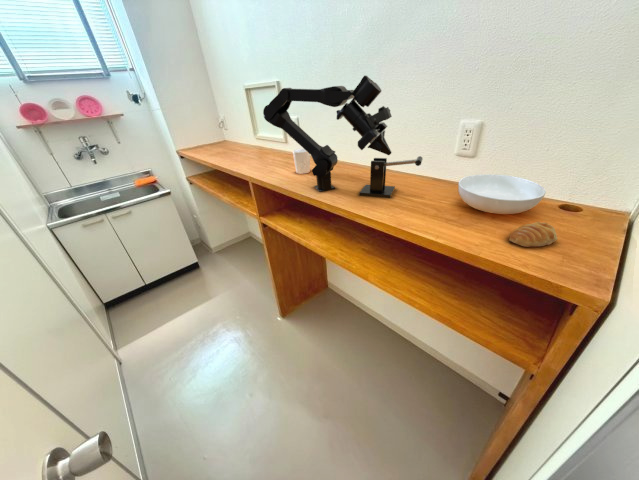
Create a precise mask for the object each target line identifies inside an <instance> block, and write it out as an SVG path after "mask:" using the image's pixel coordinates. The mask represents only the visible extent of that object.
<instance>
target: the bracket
mask: <svg viewBox="0 0 639 480" xmlns="http://www.w3.org/2000/svg"><path fill="white" fill-rule="evenodd" d="M382 160H383V161H382ZM387 160H388V158H387V157H374V158H373V160H370V174H369V175H370V176H369V177H370V178H369V184H367V183H366V184H364V186H363V187H362V188H361V190H359V193H358V195H359V197H369V198H370V197H371V198H383V199H391V198H392V196H393V194H394V193H395V192H394V191H395V190H396V186H394V185H386V179H387V166H384V163H386V162H388V161H387Z"/></svg>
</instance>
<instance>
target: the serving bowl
mask: <svg viewBox="0 0 639 480" xmlns="http://www.w3.org/2000/svg"><path fill="white" fill-rule="evenodd" d="M457 187H458V188H457V190H458V191H457V192H458V195H459V197H460V199H461V200H462V201H463V202H464V203H465V204H466V205H468V206H469V207H471V208H473V209H475V210H479V211H481V212H484V213H489V214H496V215H514V214H515V215H516V214H520V213H524V212H527V211H529V210H532V209H533V208H534V207H536V206H537V205H538V204H539V203H541V202H542V200H543V199H544V197H545V195H546V194H547V193H546V192H547V191H546V188H545V187H543V186H542V185H541V184H540V183H537V182H535V181H532V180H529V179H526V178H523V177H519V176H513V175H506V174H497V173H495V174H494V173H479V174H471V175H467V176H464V177H462V178H460V179H459V180H458V184H457Z"/></svg>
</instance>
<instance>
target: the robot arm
mask: <svg viewBox="0 0 639 480" xmlns="http://www.w3.org/2000/svg"><path fill="white" fill-rule="evenodd" d="M381 93H382V88H381V87H380V85H379V84H378V83H377V82H375V81H374V80H372V79H371V78H370V77H369V76H368V75H363V77H362V78H361V79H360V82H358V84H357V86H356V87H355V88H354V89H347V87H346V86H344V85H333V86H329V87H324V88H319V89H318V88H292V87H284V88H281V90H280V91H279V92H278V94H276V96H275V97H274V98H273V99H272V100H271V101H269V103H268V104H267V105H265V106H264V108H263V110H262V114H263V118H264V121H266V122H267V123H269V124H271V125H272V126H274V127H276V128H279V129H281V130H283V131H284V132H285V133H286V134H287V135H288V136H289V137H290V138H292V140H294V141H295V142H296V143H297V144H298V145H299V146H301V148H302V149H305V150H306V151H307V152H308V153H309V154H310V157H311V159H312V160H313V161H312V162H313V163H314V164H315V166H314V167H312V169H311V172H312V175H313V176H314V177H316V185H314V186H313V188H315V190H316V191H318V192H320V193H321V192H326V191H330V190H335V189H336V187H335V186H334V185H333V184H332V171H333V170H334V168H335V166H336V165H337V164H338V155H337V154H336V150H334V149H332V148H331V147H330V146H329V144H325V145H324V146H322V145H320V144H319V143H318V142H317V141H316V140H315V139H313V138H312V137H311V136H310V135H309V134H308V133H307V132H305V130H303V129H302V128H301V127H300V126H299V125H298V124H297V123H296V122H295V121H293V119H292V118H291V116H290V113H289V111H288V110H289V109H290V107H291V104H292V102H303V103H307V102H308V103H320V104H322V105H323V106H329V107H331V108H338V107H341V106H342V107H341V109H338V110H336V120H337V121H338V120H341V119H342V118H344V119H345V120H346V121H347V123H349V124H350V125H351V127H352V131H353V132H356V133H358V134H359V136H360V138H359V140H358V141H357V147H358V149H360V151H363V150H364V149H366V147H367V149H371V150H374V151H378V152H379V153H381V154H384V155H387V156H390V155H392V153H393V152H392V150H391V148H390V147H389V144H388V142H387V140H386V138H385V135H386V129H387V128H388V125H387V123H385V122H384V121H387V120H389V119H391V118H392V114H391V109H390V108H389V106H387V107H386V106H384V105H382V106H381V107H379V108H378V110H377V112H376V113H374V114H372V113H370V112H369V113H367V112H366V111H365V110H364V109H363V108H365V107H367V108H369V107H370V106H371V105H372V104H373V102H374V101H375V100H376V99H377V98H378V96H379V95H380V94H381ZM349 100H350V102H349V103H348V101H349Z"/></svg>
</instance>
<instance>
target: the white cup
mask: <svg viewBox="0 0 639 480" xmlns="http://www.w3.org/2000/svg"><path fill="white" fill-rule="evenodd" d="M292 156H293V163H294V168H295V173H296V174H299V175H304V174H308V173H310V172H311V155H310V154H309V153H308V152H307V151H306V150H305V149H304V148H298V149H293V150H292Z"/></svg>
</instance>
